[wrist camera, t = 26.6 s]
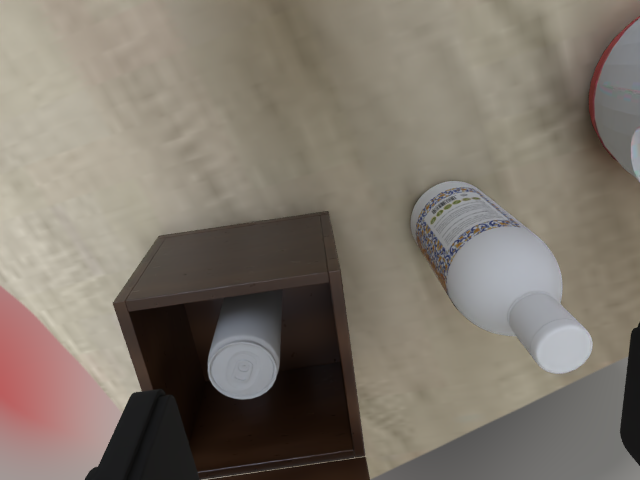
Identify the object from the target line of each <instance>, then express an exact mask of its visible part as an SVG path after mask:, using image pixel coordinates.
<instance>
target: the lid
mask: <svg viewBox="0 0 640 480" xmlns="http://www.w3.org/2000/svg"><path fill="white" fill-rule="evenodd" d="M208 480H370V477H369V472H368V466H367V461H366V457H362V458H355V459H348V460H341V461H334V462H327V463H320V464H313V465H306V466H299V467H292V468H285V469H278V470H271V471H264V472H257V473H250V474H243V475H236V476H229V477H222V478H215V479H208Z"/></svg>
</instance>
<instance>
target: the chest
mask: <svg viewBox="0 0 640 480" xmlns="http://www.w3.org/2000/svg"><path fill="white" fill-rule="evenodd" d="M281 289H282V291H283V295H282V319H281V344H280V365H279V370H278V374H277V376H276V380H275V382H274V384H273V386H272V387H271V388H270V389H269V390H268V391H267V392H266V393H264V394H262V395H261V396H258V397H255V398H252V399H243V400H242V399H234V398H231V397H228V396H225V395H224V394H222V393H221V392H219V391H218V390H217V389H216V388H215V387H214V386H213V385H212V383H211V381H210V379H209V375H208V356H209V352H210V348H211V344H212V341H213V337H214V333H215V330H216V326H217V322H218V319H219V315H220V311H221V308H222V304H223V300H224V298H226V297H233V296H240V295H247V294H254V293H261V292H268V291H274V290H281ZM113 305H114V308H115V311H116V314H117V317H118V320H119V323H120V326H121V329H122V332H123V335H124V338H125V341H126V344H127V347H128V350H129V353H130V356H131V359H132V362H133V365H134V368H135V371H136V374H137V377H138V380H139V383H140V386H141V389H142V392H143V391H150V390H157V389H162V390H163V391H164V392H165V394H166V395H173V396H174V397H175V400H176V403H177V406H178V410H179V413H180V416H181V419H182V423H183V426H184V429H185V433H186V436H187V439H188V442H189V446H190V449H191V452H192V456H193V459H194V462H195V465H196V469H197V472H198V475H199V478H200V480H202V479H209V478H216V477H223V476H230V475H237V474H244V473H251V472H258V471H265V470H272V469H279V468H286V467H293V466H300V465H307V464H314V463H321V462H328V461H335V460H342V459H349V458H354V457H362V456H365V449H364V441H363V434H362V426H361V419H360V411H359V404H358V397H357V389H356V382H355V374H354V367H353V359H352V352H351V345H350V337H349V330H348V322H347V315H346V307H345V300H344V293H343V285H342V278H341V270H340V265H339V261H338V256H337V251H336V246H335V241H334V236H333V231H332V226H331V221H330V216H329V212H328V211H326V212H319V213H312V214H305V215H299V216H292V217H285V218H278V219H271V220H264V221H257V222H251V223H244V224H237V225H230V226H223V227H216V228H209V229H203V230H196V231H189V232H182V233H175V234H168V235H162V236H159V237H158V238H157V239H156V241H155V242H154V244H153V245H152V247H151V248H150V250H149V251H148V252H147V254H146V255H145V257H144V258H143V260H142V261H141V263H140V264H139V266H138V267H137V268H136V270H135V271H134V273H133V274H132V276H131V277H130V279H129V280H128V282H127V283H126V284H125V286H124V287H123V289H122V290H121V292H120V293H119V295H118V296H117V298H116V299H115V300H114V302H113Z"/></svg>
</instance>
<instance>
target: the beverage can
mask: <svg viewBox="0 0 640 480" xmlns="http://www.w3.org/2000/svg"><path fill="white" fill-rule="evenodd" d="M282 295H283V291H282V289H281V290H274V291H268V292H261V293H254V294H247V295H240V296H233V297H226V298H224V300H223V304H222V308H221V311H220V315H219V319H218V322H217V326H216V330H215V333H214V337H213V341H212V344H211V348H210V352H209V356H208V375H209V379H210V381H211V383H212V385H213V386H214V387H215V388H216V389H217V390H218V391H219V392H221V393H222V394H224V395H225V396H228V397H231V398H234V399H242V400H243V399H252V398H255V397H258V396H261V395H262V394H264V393H266V392H267V391H268V390H269V389H270V388H271V387H272V386H273V384H274V382H275V380H276V376H277V374H278V370H279V365H280V344H281V319H282Z"/></svg>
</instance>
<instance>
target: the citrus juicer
mask: <svg viewBox="0 0 640 480" xmlns="http://www.w3.org/2000/svg"><path fill="white" fill-rule="evenodd" d="M589 113H590V117H591V121H592V125H593V127H594V129H595V131H596V133H597V135H598V137H599V139H600V141H601V143H602V145H603V147H604V148H605V149H606V150H607V152H608V153H609V154H610V155H611V156H612V157H613V158H614V159H615V160H616V161H618V162H619V163H620V164H621V165H622V167H623V168H624V169H625V170H627V171H628V172H629V173H630V174H632V175H633V176H634V177H635V178H637V180H638V181H639V182H640V16H639V17H637V18H636V19H635V20H633V21H632V22H631V23H630V24H629V25H628V26H627V27H625V28H624V29H623V30H622V31H621V32H620V33H619V34H618V35H617V36H616V37H615V38H614V39H613V41H612V42H611V43H610V45H609V46H608V47H607V49H606V50H605V51H604V53H603V55H602V57H601V58H600V60H599V62H598V64H597V66H596V69H595V71H594V74H593V77H592V80H591V85H590V91H589Z"/></svg>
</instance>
